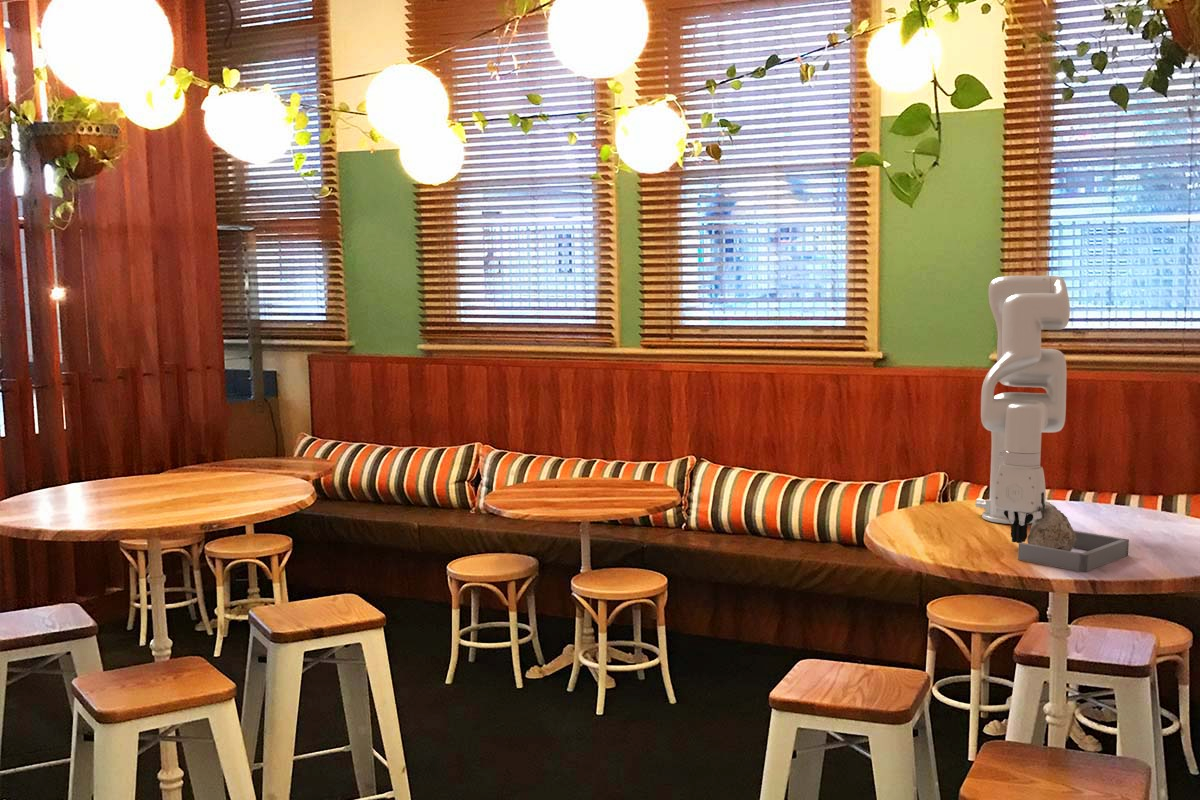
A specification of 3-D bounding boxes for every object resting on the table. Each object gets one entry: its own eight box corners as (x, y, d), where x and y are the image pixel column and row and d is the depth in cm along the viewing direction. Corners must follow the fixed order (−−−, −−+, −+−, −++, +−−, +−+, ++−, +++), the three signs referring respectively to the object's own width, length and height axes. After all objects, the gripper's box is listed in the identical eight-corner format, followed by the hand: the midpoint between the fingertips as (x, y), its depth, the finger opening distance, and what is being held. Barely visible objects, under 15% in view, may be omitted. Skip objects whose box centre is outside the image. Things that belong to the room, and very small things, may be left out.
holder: (1018, 559, 245) (1018, 543, 245) (1063, 544, 260) (1064, 529, 259) (1084, 572, 235) (1085, 555, 234) (1128, 555, 249) (1128, 539, 249)
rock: (1098, 530, 245) (1067, 519, 243) (1075, 572, 247) (1045, 562, 245) (1062, 504, 258) (1033, 494, 256) (1041, 544, 260) (1012, 534, 258)
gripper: (982, 457, 257) (978, 538, 259) (1046, 465, 246) (1043, 550, 248) (998, 454, 262) (995, 534, 264) (1063, 461, 251) (1059, 545, 253)
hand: (1018, 541), depth 256 cm, fingers closed
